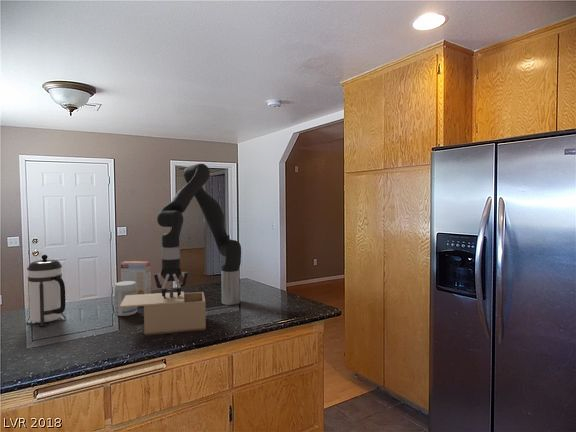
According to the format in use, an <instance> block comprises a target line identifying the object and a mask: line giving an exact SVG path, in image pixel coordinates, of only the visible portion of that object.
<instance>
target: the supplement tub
mask: <svg viewBox="0 0 576 432" xmlns="http://www.w3.org/2000/svg"><path fill="white" fill-rule="evenodd" d="M126 295H137V288H136V282H135V281H123V282H121V281H118V282H115V283H114V306H115V311H114V312H115V315H116V316H119V317H129V316H132V315H135V314H136V313H137V312H138V306H135V307H121V308H120V305H121V303H122V301H123V299H124V298H125V296H126Z"/></svg>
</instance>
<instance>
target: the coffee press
mask: <svg viewBox="0 0 576 432" xmlns="http://www.w3.org/2000/svg"><path fill="white" fill-rule="evenodd" d="M62 268H63V264H61V262H60V261H58V260H56V259H48V254H43V255H42V256H41V259H39V260H35V261H32V262H30V263H29V264H28V266H27V268H26V270H27V273H28V274H27V281H28V282H27V284H28V285H27V287H28V288H27V290H28V292H27V293H28V318H27V320H26V321H25V323H26V324H27V325H30V324H31V323H39V327H40V328H45V324H46V323H48V322H53V321H56V320H61V321H63V322H64V321H65V320H67V317H66V316H65V315H64V312H65V310H66V286H65V282H64V279H63V274H62ZM62 317H63V318H64V319H63V318H62ZM28 320H30V322H28Z"/></svg>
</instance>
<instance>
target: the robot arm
mask: <svg viewBox="0 0 576 432" xmlns="http://www.w3.org/2000/svg"><path fill="white" fill-rule="evenodd" d="M183 176H184V180H185V182H186V184H185V185H184V186H183V187H181V188H180V189H179V190H178V191H177V192H176V193H175V195H174V196H173V198H172V200H171V201H170V202H169V203H167V205H165V206H164V207H163V208H162V209H161V210H160V211H159V212H158V214H157V218H156V221H157V223H158V225H159V226H160V227H163V228H170V231H169V232H164V233H162V237H161V272H157V273H156V272H155V273H154V274H153V277H154V280H155V284H156V288H157V289H161V293H162V296H164V298H165V297H166V293H165V289H166V285H167V283H168V282H175V284H176V286H177V295H178V297H179V295H181V292H182V289H181V288H183V287H185V286H186V284H187V279H188V273H189V272H188V271H182V269H181V249H180V235H181V231H182V228H183V223H184V215H183V213H184V212H186V210H187V208H188V207H189V205H190V203H191V202H192V200H193V199H194V198H195V199H196V201H197V203H198V206H199V208H200V210H201V212H202V215H203V216H204V218H205V221H206V223H207V225H208V227H209V229H210V231H211V234H212V235H213V238H214V241H215V244H216V247H217V250H218V252H219V253H220V255H221V256H223V257H225V262H224V263H223V264H221V266H220V267H221V269H220V270H221V272H220V273H221V278H220V279H221V304H223V305H226V306H230V305H231V306H232V305H237V304H238V305H239V304H241V285H240V266H241V263H242V246H241V245H242V244H241V243H240V242H239V241H237V240H235V239H230V237H229V234H228V233H227V232H226V231H227V230H226V228H225V214H224V212H223V210H222V207H221V205H220V203H219V201H217V200H216V199H215V198H213V197H212V196H211V195H210V194H208V192H207V191H205V189H204V188H203V186H204V185H205V184H206V183H207V182H208V180H209V179H210V176H211V173H210V169H209V167H208V166H207V165H206V164H205V163H197V164H194V165H190V166H187V167H185V168H184V170H183ZM181 275H182V276H181ZM180 276H181V277H183V279H182V282H180V280H179V278H180ZM161 277H162V278H163V279H164V280H163V282H162V284H161V282H160V278H161Z"/></svg>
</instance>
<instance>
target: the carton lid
mask: <svg viewBox="0 0 576 432" xmlns="http://www.w3.org/2000/svg"><path fill="white" fill-rule="evenodd" d="M165 293H166V297H165V298H164V296H162V292H158V293H151V294H139V295H126V296H125V298H124V299H123V301H122V303H121V305H120V308H121V307H135V306H137V307H144V306H148V305H162V304H176V303H184V293H185V291H181V295H179V297H178V295H177V288H165Z"/></svg>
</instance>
